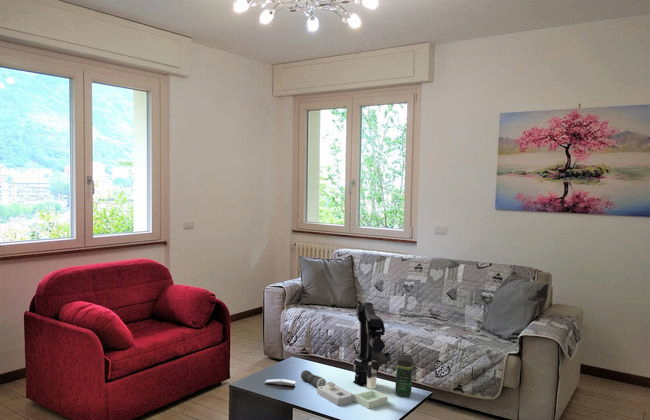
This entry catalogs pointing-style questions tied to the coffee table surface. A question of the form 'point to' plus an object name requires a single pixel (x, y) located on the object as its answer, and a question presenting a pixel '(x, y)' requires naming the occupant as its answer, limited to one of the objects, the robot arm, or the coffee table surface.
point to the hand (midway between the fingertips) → (371, 377)
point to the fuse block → (336, 395)
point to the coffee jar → (404, 376)
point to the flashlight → (313, 379)
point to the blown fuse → (372, 379)
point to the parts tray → (370, 399)
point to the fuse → (330, 385)
